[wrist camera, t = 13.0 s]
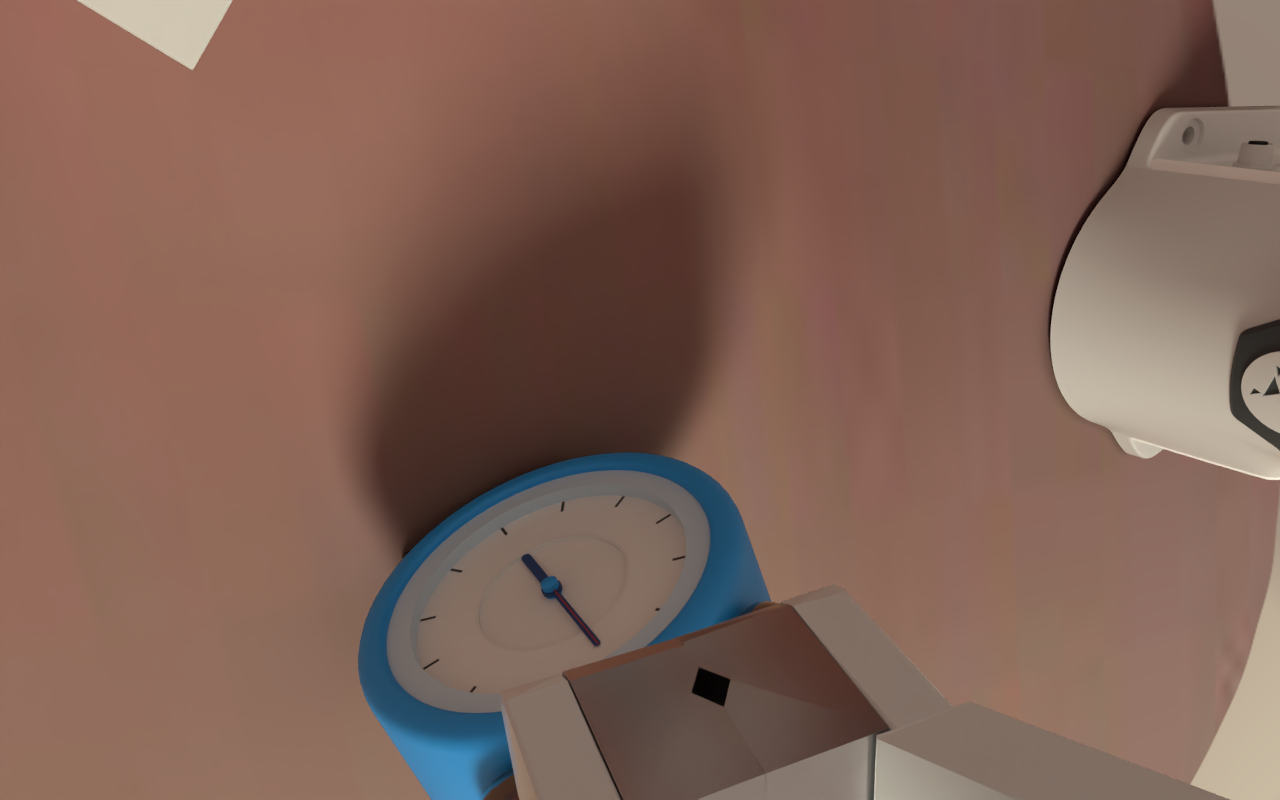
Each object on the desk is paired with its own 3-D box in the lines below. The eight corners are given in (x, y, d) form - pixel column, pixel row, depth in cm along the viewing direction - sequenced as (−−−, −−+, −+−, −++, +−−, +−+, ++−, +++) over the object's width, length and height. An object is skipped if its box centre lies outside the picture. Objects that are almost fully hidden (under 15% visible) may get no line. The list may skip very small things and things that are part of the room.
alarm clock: (621, 404, 39) (868, 581, 27) (668, 523, 42) (911, 732, 30) (315, 582, 36) (437, 882, 23) (390, 698, 39) (534, 1019, 26)
